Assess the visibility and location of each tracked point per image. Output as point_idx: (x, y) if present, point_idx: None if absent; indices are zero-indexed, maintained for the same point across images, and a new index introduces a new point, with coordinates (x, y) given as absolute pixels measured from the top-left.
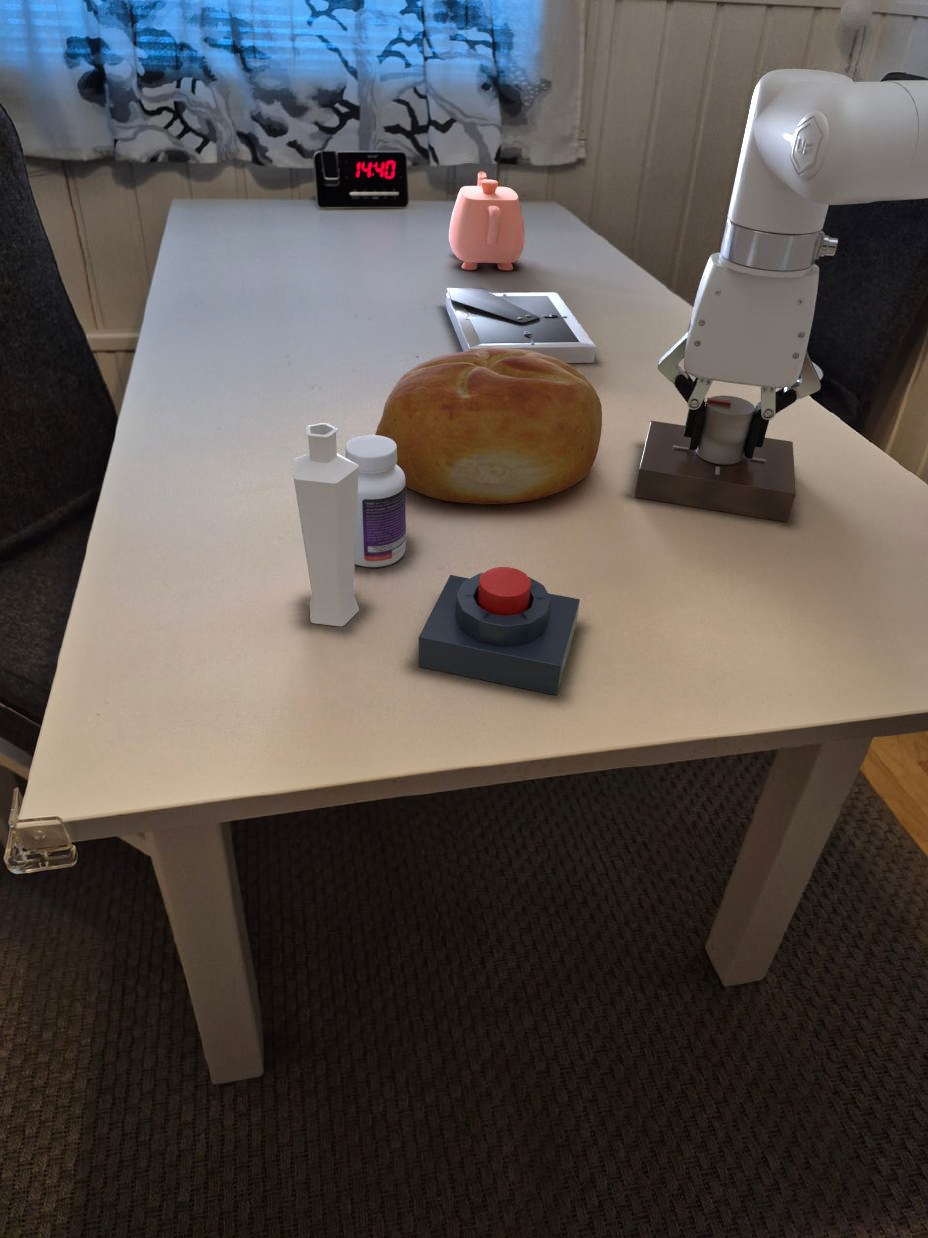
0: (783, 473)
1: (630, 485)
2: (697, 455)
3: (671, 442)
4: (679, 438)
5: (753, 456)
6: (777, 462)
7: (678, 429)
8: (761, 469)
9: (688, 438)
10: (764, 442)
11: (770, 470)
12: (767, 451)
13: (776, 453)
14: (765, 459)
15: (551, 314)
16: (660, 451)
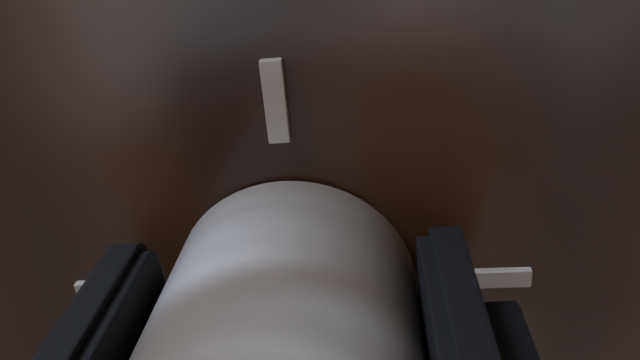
0: (609, 351)
1: None
2: None
3: (51, 242)
4: (69, 184)
5: (471, 243)
6: (596, 263)
7: (21, 75)
8: None
9: (111, 165)
10: (549, 46)
11: (548, 342)
12: (555, 159)
13: (607, 166)
14: (534, 253)
15: None
16: (42, 337)
